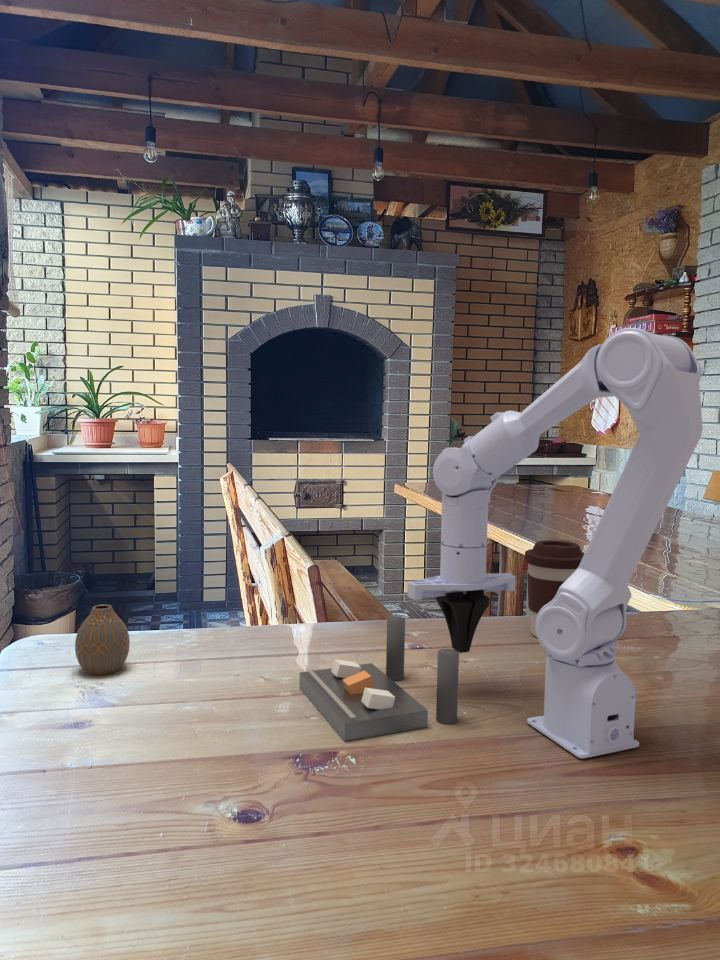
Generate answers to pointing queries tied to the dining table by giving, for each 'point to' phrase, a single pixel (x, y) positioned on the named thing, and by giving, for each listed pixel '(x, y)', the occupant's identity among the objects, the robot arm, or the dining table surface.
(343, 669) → the paddle
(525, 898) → the dining table surface
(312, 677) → the breaker panel
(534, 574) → the coffee cup
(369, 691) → the paddle
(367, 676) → the orange block
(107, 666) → the vase
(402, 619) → the post
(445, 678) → the post
